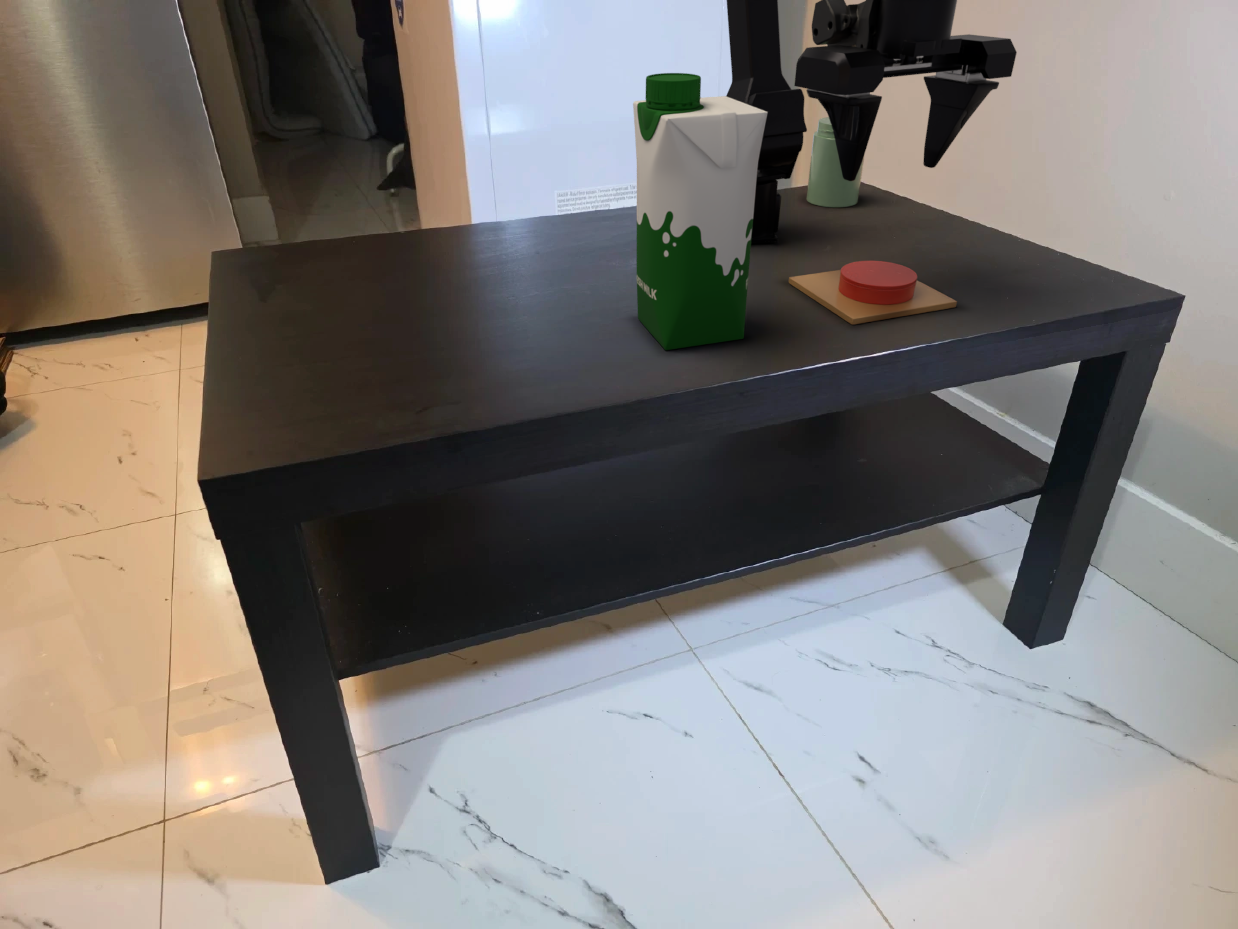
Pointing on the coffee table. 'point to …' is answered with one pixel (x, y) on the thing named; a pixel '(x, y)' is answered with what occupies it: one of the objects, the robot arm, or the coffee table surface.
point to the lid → (877, 282)
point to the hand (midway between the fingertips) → (889, 173)
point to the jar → (829, 172)
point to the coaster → (856, 312)
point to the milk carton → (694, 210)
